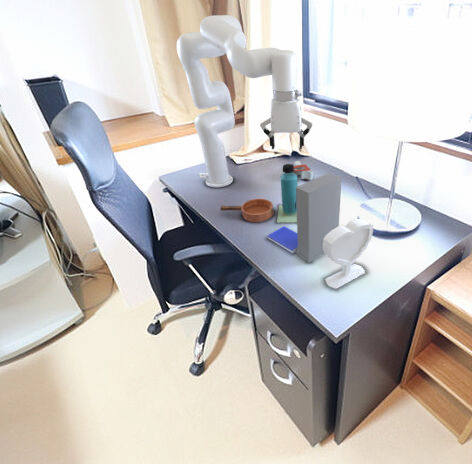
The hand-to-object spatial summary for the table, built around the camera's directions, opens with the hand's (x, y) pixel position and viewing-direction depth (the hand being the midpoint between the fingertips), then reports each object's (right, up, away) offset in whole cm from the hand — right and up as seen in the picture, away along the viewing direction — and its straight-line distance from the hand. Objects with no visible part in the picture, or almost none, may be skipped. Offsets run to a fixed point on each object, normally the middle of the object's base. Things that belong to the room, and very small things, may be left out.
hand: (287, 147), depth 111 cm
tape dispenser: (+4, -2, +44) cm, 44 cm away
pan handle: (-22, -20, +14) cm, 33 cm away
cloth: (+1, -22, +15) cm, 27 cm away
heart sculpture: (+18, -43, -14) cm, 49 cm away
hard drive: (0, -33, +1) cm, 33 cm away
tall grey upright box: (+10, -35, -4) cm, 37 cm away
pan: (-12, -22, +16) cm, 30 cm away
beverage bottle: (+1, -22, +15) cm, 27 cm away
